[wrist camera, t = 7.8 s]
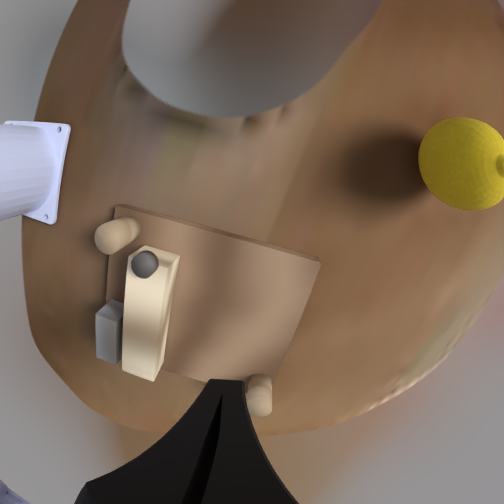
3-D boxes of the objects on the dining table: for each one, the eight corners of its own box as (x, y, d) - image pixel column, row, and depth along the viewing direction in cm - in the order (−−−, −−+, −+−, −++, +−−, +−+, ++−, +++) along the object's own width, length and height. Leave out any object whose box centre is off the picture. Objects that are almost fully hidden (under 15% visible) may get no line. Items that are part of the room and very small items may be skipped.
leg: (146, 235, 18) (123, 248, 15) (182, 245, 18) (164, 260, 15) (134, 351, 20) (117, 376, 17) (163, 361, 20) (150, 388, 17)
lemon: (425, 216, 18) (498, 244, 10) (384, 151, 17) (454, 145, 9) (468, 173, 16) (543, 183, 9) (432, 111, 15) (505, 92, 8)
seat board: (110, 341, 22) (88, 367, 18) (122, 203, 18) (91, 212, 15) (266, 389, 22) (266, 423, 18) (318, 258, 19) (331, 280, 15)
